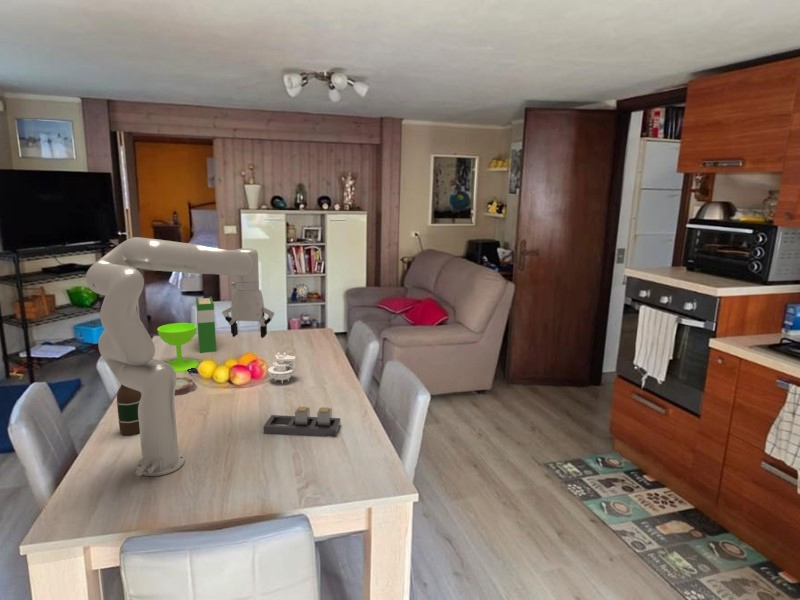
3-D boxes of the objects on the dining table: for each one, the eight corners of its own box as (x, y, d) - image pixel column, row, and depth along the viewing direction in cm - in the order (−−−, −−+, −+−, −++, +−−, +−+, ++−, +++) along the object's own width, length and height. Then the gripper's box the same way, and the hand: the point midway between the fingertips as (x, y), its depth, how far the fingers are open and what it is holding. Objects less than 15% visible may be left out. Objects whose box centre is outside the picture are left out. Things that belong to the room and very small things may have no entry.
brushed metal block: (307, 432, 173) (306, 411, 172) (295, 431, 173) (294, 410, 172) (309, 426, 177) (309, 406, 175) (298, 426, 177) (297, 405, 176)
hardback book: (198, 343, 267) (195, 297, 262) (213, 341, 270) (211, 296, 265) (200, 353, 252) (197, 304, 247) (216, 351, 254) (213, 303, 249)
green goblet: (190, 373, 225) (187, 332, 221) (153, 372, 225) (150, 331, 221) (204, 361, 240) (202, 323, 237) (170, 360, 241) (167, 322, 237)
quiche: (182, 377, 221) (181, 368, 220) (215, 387, 212) (215, 377, 211) (137, 393, 203) (136, 384, 202) (172, 405, 194) (171, 394, 193)
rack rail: (340, 424, 179) (340, 418, 179) (335, 436, 170) (335, 430, 170) (271, 421, 180) (271, 415, 180) (263, 433, 172) (263, 426, 171)
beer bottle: (116, 437, 167) (109, 366, 162) (122, 426, 174) (116, 358, 169) (143, 434, 169) (137, 364, 164) (148, 424, 176) (142, 356, 171)
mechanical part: (263, 383, 215) (262, 356, 212) (278, 374, 226) (278, 348, 223) (287, 387, 211) (286, 359, 209) (301, 377, 222) (301, 351, 220)
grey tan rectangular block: (329, 433, 173) (329, 411, 171) (317, 432, 173) (317, 411, 172) (331, 427, 177) (331, 406, 175) (320, 427, 177) (319, 406, 175)
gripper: (216, 287, 168) (219, 338, 172) (269, 289, 167) (271, 340, 171) (225, 283, 175) (228, 332, 179) (276, 285, 174) (277, 334, 178)
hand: (249, 336), depth 175 cm, fingers open, 9 cm apart
